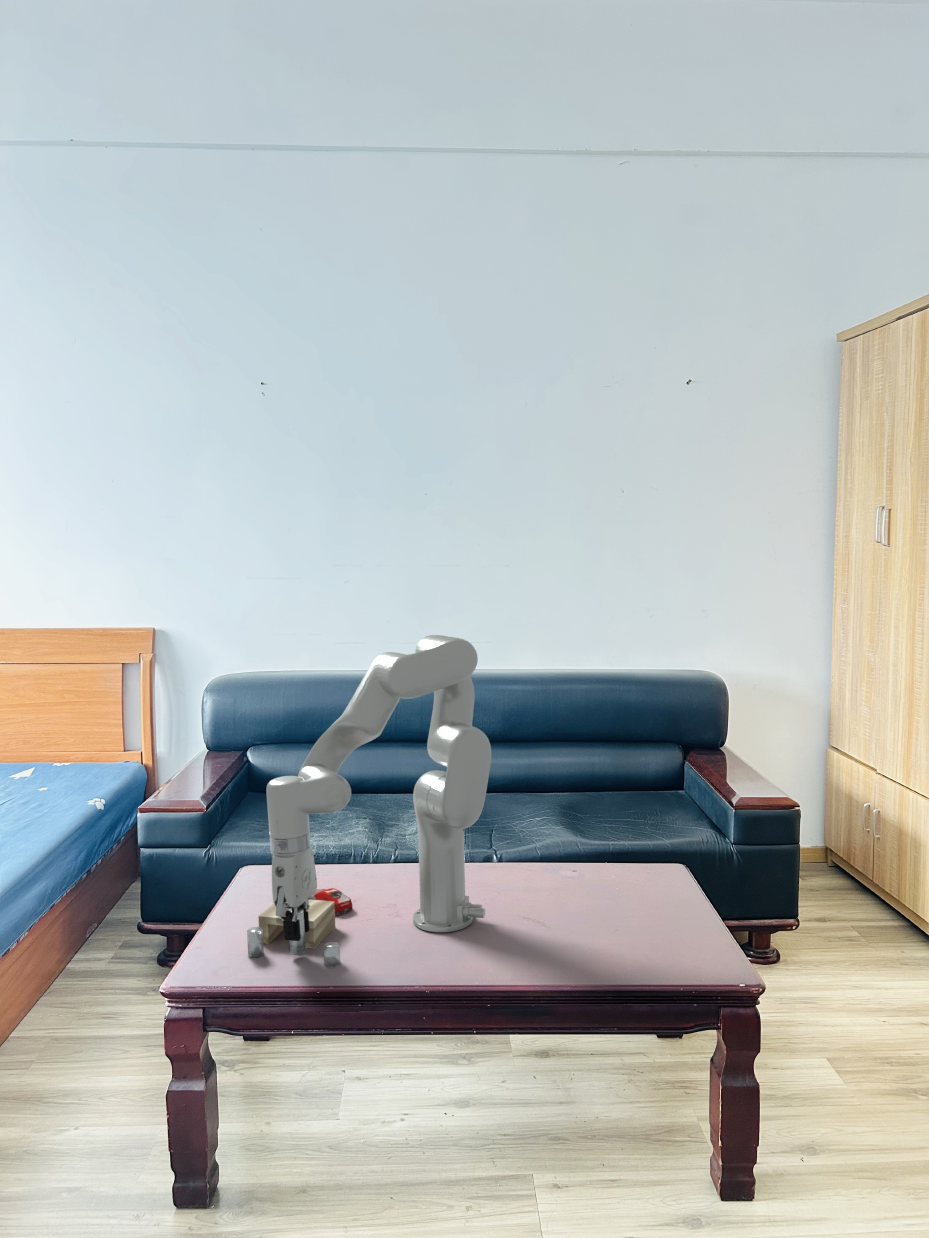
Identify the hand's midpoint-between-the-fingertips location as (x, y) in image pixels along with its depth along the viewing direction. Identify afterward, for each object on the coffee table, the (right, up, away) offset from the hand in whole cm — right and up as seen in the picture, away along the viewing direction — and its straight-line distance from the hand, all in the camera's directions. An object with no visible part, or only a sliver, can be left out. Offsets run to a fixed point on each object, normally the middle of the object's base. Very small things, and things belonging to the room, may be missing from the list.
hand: (297, 934), depth 166 cm
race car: (+2, -3, +25) cm, 25 cm away
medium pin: (-8, -5, +2) cm, 10 cm away
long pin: (0, -3, 0) cm, 3 cm away
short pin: (+7, -5, -2) cm, 9 cm away
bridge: (-2, -4, +11) cm, 11 cm away
